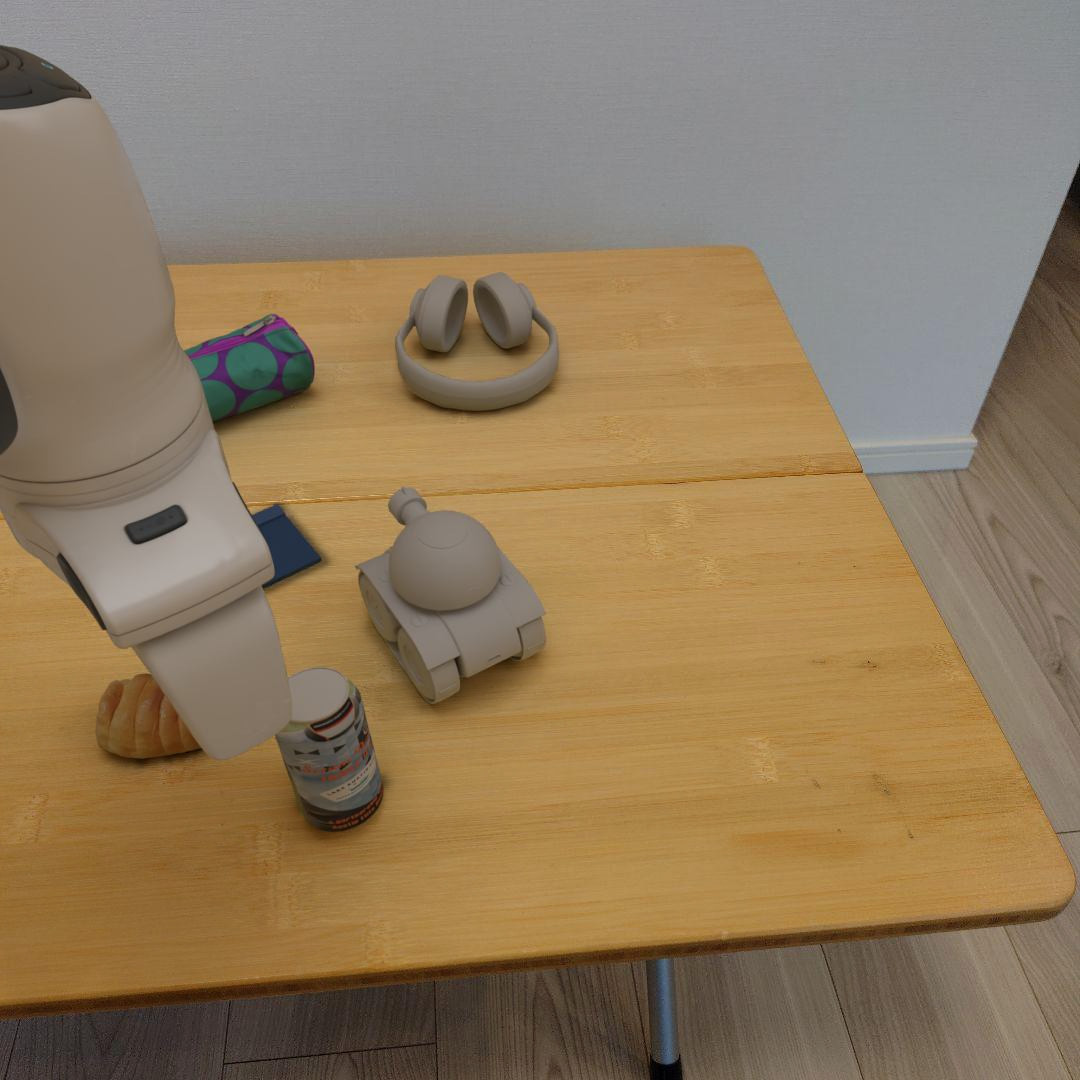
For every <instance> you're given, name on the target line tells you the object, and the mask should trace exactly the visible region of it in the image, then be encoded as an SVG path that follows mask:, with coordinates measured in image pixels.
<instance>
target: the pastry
mask: <svg viewBox="0 0 1080 1080" xmlns="http://www.w3.org/2000/svg"><path fill="white" fill-rule="evenodd" d="M97 711H98V712H97V715H96V716H95V717H96V718H95V737H96V742H97V745H98V747H100V748H101V749H103V750H105V751H107V752H109V753H112V754H115V755H118V756H120V757H123V758H131V759H140V760H142V759H149V758H157V757H164V756H172V755H175V754H182V753H187V752H192V751H195V750H199V749H202V748H201V747H200V745H199V744H198V743H197V741H196V740H195V739H194V737H193V736H192V734H191V733H190V732H189V730H188V729H187V727H186V726H185V724H184V723H183V721H182V720H181V718H180V717H179V715H178V714H177V712H176V711H175V709H174V708H173V706H172V705H171V703H170V702H169V700H168V699H167V697H166V696H165V695H164V693H163V692H162V690H161V689H160V687H159V686H158V684H157V683H156V681H155V680H154V678H153V677H152V675H151V674H150V673H149V672H148V673H147V672H145V673H137V674H136V675H134V677H132V678H131V679H130V678H125V679H121V680H120V679H114V680H112V681H111V682H110V683H109V684H108V685H107V687H106V689H105V690H104V692H103V694H102V696H101V698H100V700H99V703H98V710H97Z"/></svg>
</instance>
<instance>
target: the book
mask: <svg viewBox="0 0 1080 1080" xmlns="http://www.w3.org/2000/svg"><path fill="white" fill-rule="evenodd" d="M252 516H253V518H254V520H255V521H256V523H257V525H258V527H259V529H260V531H261V534H262V536H263V537H264V539H265V541H266V543H267V545H268V547H269V550H270V553H271V557H272V560H273V565H274V571H275V573H274V577H273V578H272V579H271V580H269V581H267V582H266V583H264V584H262V585H261V586H262V588H263V589H265V588H267V587H269V586H271V585H273V584H275V583H277V582H279V581H281V580H284V579H285V578H288V577H290V576H292V575H294V574H296V573H298V572H300V571H302V570H304V569H307V568H309V567H311V566H313V565H315V564H318V563H320V562H322V557H321V556H320V555H319V553H318V551H316V549H315V548H314V547H313V546H312V545H311V544H310V542H309V541H308V540H307V539H306V538H305V536H304V535H303V534H302V533H301V531H300V530H299V529H298V528H297V526H295V524H294V523H293V522H292V521H291V520H290V518H289V517H288V516H287V515H286V512H285V510H284V509H283V508H282V507H281V506H280V505H279V504H278V503H276V504H274V505H272V506H271V505H270V506H268V507H267V508H265V509H262V510H260V511H258V512H256V513H254V514H252Z"/></svg>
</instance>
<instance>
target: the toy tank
mask: <svg viewBox="0 0 1080 1080" xmlns="http://www.w3.org/2000/svg"><path fill="white" fill-rule="evenodd" d="M387 508H388V511H389V512H390V513H391V515H392V517H394V519H395V520H396V521H397V523H398V524H400V525H402V526H404V527H403V529H402V530H400V532H399V534H398V535H397V536H396V538H395V540H394V542H393V544H392V546H390V547H388V548H387V549H385V551H384V553H382V554H380V555H377V556H374V557H373V558H370V559H367V560H365V561H363V562H360V563H358V564H355V565H354V568H355V570H359V572H358V573H357V581H358V585H359V586H358V587H359V590H360V594H361V598H362V600H363V603H364V606H365V609H366V611H367V612H368V615H369V617H370V619H371V621H372V623H373V625H374V627H375V628H376V629H375V630H377V632H378V633H379V636H381V639H383V641H384V642H385V644H386V645H387V647H388V648H389V650H390V651H391V653H392V654H393V656H394V657H395V658H396V660H397V662H398V663H399V665H400V666H401V667H402V669H403V670H404V672H405V673H406V675H407V676H408V678H409V679H410V680H411V683H413V685H414V686H415V688H416V689H417V691H418V692H419V694H420V695H421V696H422V698H423V699H424V701H426V702H427V703H429V704H430V705H434V704H438V703H440V702H442V701H444V700H446V699H448V698H450V697H452V696H454V694H456V693H458V692H459V691H460V688H461V679H460V677H462V678H471V677H473V676H474V675H477V674H479V673H480V672H483V671H484V670H486V669H489V668H490V667H492V666H494V665H496V664H499V663H501V662H503V661H505V660H507V659H509V658H510V659H511V660H512V661H514V662H521V661H524V660H527V659H528V658H530V657H532V656H534V655H536V654H538V653H539V652H540V651H542V650H544V648H545V647H546V644H547V634H546V628H545V624H544V620H543V616H546V615H547V611H546V610H545V607H544V605H543V603H542V601H541V599H540V597H539V596H538V594H537V592H536V590H535V589H534V587H533V586H532V585H531V583H530V582H529V581H528V579H526V577H525V576H524V575H523V573H521V571H520V570H519V569H518V568H517V567H516V565H514V563H513V562H512V561H511V560H510V559H509V558H508V556H507V555H506V553H504V552H503V551H502V550H501V549H500V547H499V546H498V544H497V542H496V540H495V538H494V536H493V535H492V533H491V532H490V531H489V530H488V528H487V527H486V526H485V525H484V524H482V523H481V522H480V521H479V520H477V519H476V518H475V517H472V516H471V515H468V514H466V513H463V512H460V511H456V510H445V509H443V510H435V511H430V510H427V508H428V504H427V502H426V500H425V499H424V497H423V496H422V495H421V494H420V493H419V492H418V490H416V488H414V487H410V486H408V487H407V486H405V485H402V486H401V488H400V489H398V490H397V491H395V492H394V493H393V494H392V495H391V497H390V498H389V500H388V503H387Z"/></svg>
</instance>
